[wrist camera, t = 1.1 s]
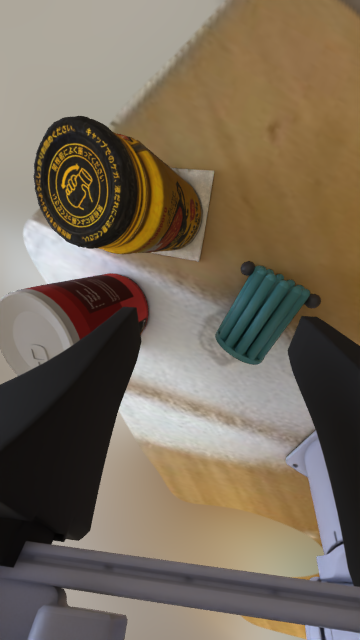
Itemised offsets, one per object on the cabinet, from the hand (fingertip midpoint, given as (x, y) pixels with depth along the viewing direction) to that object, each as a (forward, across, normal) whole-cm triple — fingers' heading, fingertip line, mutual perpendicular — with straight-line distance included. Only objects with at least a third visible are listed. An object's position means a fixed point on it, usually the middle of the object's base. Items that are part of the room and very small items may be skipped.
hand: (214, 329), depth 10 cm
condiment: (+15, +4, -2) cm, 15 cm away
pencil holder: (+10, -5, +5) cm, 12 cm away
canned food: (+13, +10, +8) cm, 18 cm away
